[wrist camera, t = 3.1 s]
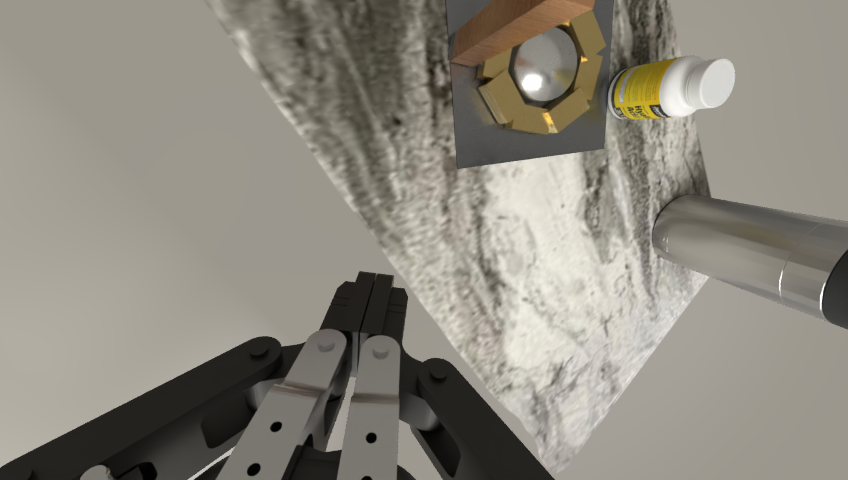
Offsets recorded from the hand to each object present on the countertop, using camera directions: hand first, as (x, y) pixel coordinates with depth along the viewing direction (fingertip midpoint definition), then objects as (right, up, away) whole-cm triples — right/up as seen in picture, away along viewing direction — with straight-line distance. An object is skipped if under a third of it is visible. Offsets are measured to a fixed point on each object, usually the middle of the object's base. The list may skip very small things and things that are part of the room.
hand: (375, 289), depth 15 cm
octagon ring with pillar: (+12, +20, +19) cm, 30 cm away
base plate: (+13, +21, +20) cm, 32 cm away
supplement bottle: (+25, +19, +24) cm, 39 cm away
